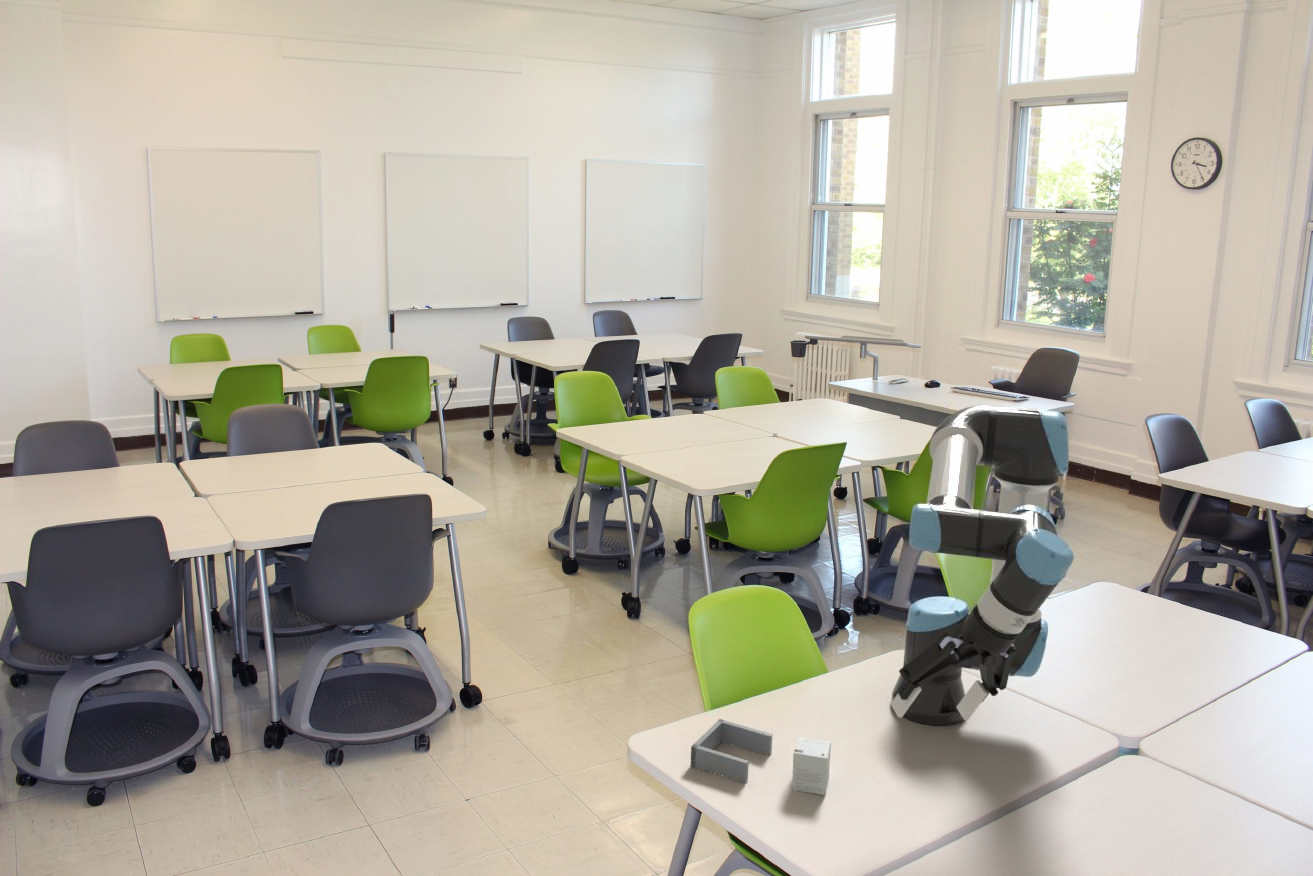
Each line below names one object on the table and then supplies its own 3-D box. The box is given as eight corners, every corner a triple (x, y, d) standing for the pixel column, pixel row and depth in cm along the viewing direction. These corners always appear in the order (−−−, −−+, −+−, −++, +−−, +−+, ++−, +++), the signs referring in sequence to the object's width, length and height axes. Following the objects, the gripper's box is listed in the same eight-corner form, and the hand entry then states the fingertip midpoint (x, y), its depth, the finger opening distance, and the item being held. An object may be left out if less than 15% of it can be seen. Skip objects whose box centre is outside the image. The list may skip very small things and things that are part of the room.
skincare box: (829, 778, 182) (831, 741, 181) (825, 796, 176) (828, 758, 175) (795, 772, 184) (798, 736, 182) (790, 790, 178) (793, 752, 176)
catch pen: (718, 737, 195) (719, 719, 194) (771, 753, 190) (772, 734, 189) (690, 766, 185) (691, 746, 184) (745, 783, 180) (746, 763, 179)
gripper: (946, 631, 145) (877, 728, 155) (1071, 642, 155) (999, 733, 166) (921, 594, 151) (857, 690, 161) (1044, 607, 161) (976, 697, 171)
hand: (929, 712), depth 163 cm, fingers open, 13 cm apart
